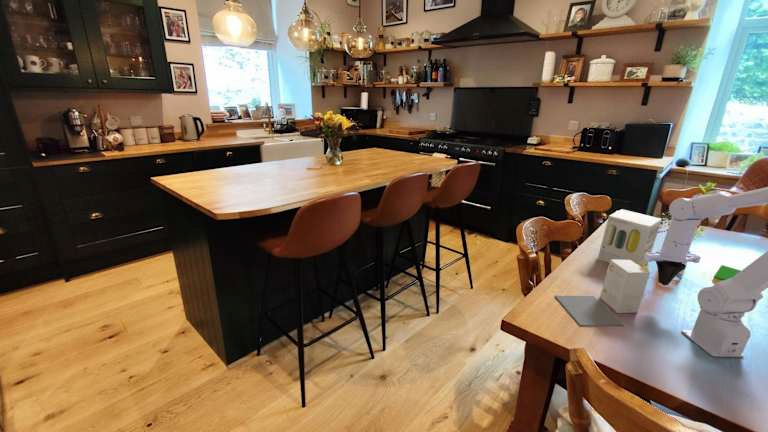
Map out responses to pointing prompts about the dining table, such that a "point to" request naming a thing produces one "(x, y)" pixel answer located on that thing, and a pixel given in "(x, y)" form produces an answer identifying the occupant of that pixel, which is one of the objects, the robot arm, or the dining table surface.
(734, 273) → the dish sponge
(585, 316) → the slate rubber mat
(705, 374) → the dining table surface
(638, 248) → the supplement box
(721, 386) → the dining table surface
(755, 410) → the dining table surface
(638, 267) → the small box
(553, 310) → the dining table surface
